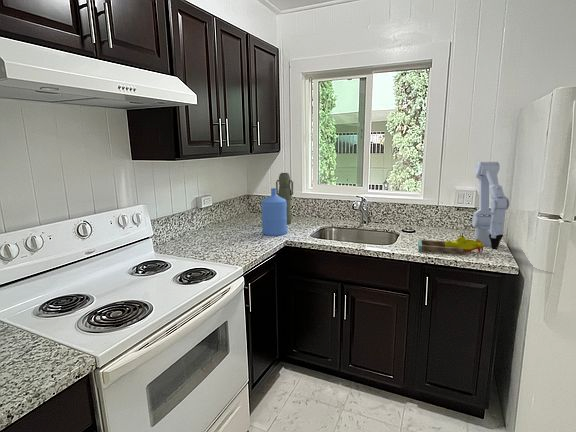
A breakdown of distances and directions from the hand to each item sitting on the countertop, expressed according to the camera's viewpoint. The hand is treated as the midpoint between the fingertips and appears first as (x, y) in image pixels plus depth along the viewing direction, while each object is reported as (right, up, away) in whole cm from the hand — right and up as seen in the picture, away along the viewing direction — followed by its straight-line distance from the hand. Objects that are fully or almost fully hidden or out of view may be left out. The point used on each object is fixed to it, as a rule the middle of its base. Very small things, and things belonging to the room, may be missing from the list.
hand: (494, 249), depth 174 cm
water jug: (-110, +5, +47) cm, 120 cm away
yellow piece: (-13, -2, +5) cm, 14 cm away
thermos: (-104, +11, +72) cm, 127 cm away
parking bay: (-23, -1, +8) cm, 24 cm away
